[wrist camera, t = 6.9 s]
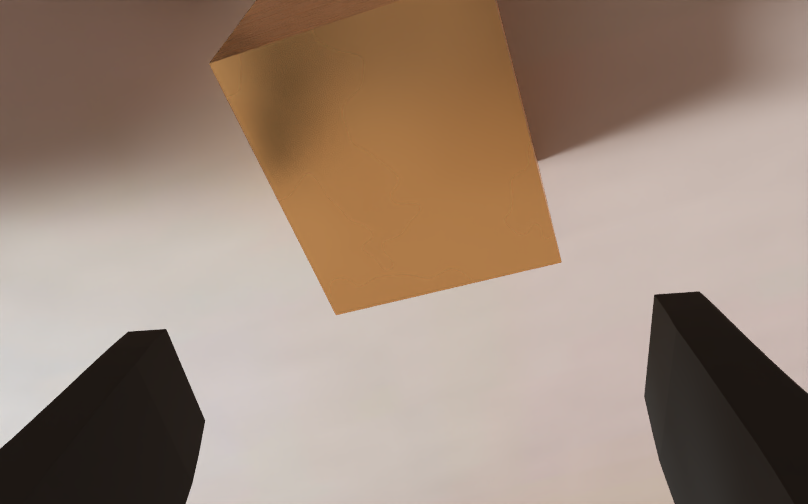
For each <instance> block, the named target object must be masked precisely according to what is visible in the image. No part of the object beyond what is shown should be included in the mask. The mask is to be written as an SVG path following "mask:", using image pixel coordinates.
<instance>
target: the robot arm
mask: <svg viewBox="0 0 808 504" xmlns="http://www.w3.org/2000/svg"><path fill="white" fill-rule="evenodd" d="M644 397H645V401H646V406H647V410H648V415H649V419H650V423H651V428H652V432H653V436H654V440H655V445H656V449H657V453H658V457H659V461H660V464H661V467H662V470H663V472H664V475H665V478H666V481H667V484H668V486H669V489H670V492H671V495H672V497H673V500H674V503H675V504H808V393H807V392H805V391H804V390H803V389H802V388H801V387H800V386H799V385H798V384H796V383H795V382H794V381H793V380H792V379H791V378H790V377H789V376H787V375H786V374H785V373H784V372H783V371H782V370H781V369H780V368H779V367H778V366H777V365H776V364H774V363H773V362H772V361H771V360H770V359H769V358H768V357H767V356H766V355H765V354H764V353H763V352H762V351H761V350H760V349H759V348H758V347H757V346H755V345H754V344H753V343H752V342H751V341H750V340H749V339H748V338H747V337H746V336H745V335H744V334H743V333H742V332H741V331H740V330H739V329H738V328H737V327H736V326H735V325H734V324H733V323H732V322H731V321H730V320H729V319H728V318H727V317H726V316H725V315H724V314H723V313H722V312H721V311H720V310H719V309H717V308H716V307H715V306H714V305H713V304H712V303H711V302H710V301H709V300H708V299H707V298H706V297H705V296H704V295H703V294H702V293H700V292H686V293H672V294H657V295H654V304H653V314H652V324H651V334H650V344H649V354H648V365H647V375H646V385H645V395H644ZM204 424H205V419H204V417H203V415H202V412H201V410H200V408H199V405H198V403H197V401H196V398H195V396H194V393H193V391H192V389H191V386H190V384H189V382H188V379H187V377H186V375H185V372H184V370H183V368H182V365H181V363H180V361H179V358H178V356H177V354H176V351H175V349H174V346H173V344H172V342H171V339H170V337H169V335H168V332H167V330H166V329H161V330H147V331H133V332H127V333H126V334H125V335H124V336H123V337H122V338H120V339H119V340H118V341H117V342H116V343H115V344H113V345H112V346H111V347H110V348H109V349H108V350H107V351H106V352H105V353H103V354H102V355H101V356H100V357H99V358H98V359H97V360H96V361H95V362H94V363H93V364H92V365H90V366H89V367H88V368H87V369H86V370H85V371H84V372H83V373H82V374H81V375H80V376H79V377H78V378H77V379H76V380H75V381H73V382H72V383H71V384H70V385H69V386H68V387H67V388H66V389H65V390H64V391H63V392H62V393H61V394H60V395H59V396H58V397H56V398H55V399H54V400H53V401H52V402H51V403H50V404H49V405H48V406H47V407H46V408H45V409H43V410H42V411H41V412H40V413H39V414H38V415H37V416H36V417H35V418H34V419H33V420H32V421H31V422H29V423H28V424H27V425H26V426H25V427H24V428H23V429H22V430H21V431H20V432H19V433H18V434H16V435H15V436H14V437H13V438H12V439H11V440H10V441H9V442H7V443H6V444H5V445H4V446H3V447H2V448H1V449H0V504H186V501H187V498H188V495H189V492H190V489H191V486H192V482H193V478H194V473H195V469H196V464H197V460H198V456H199V450H200V445H201V440H202V434H203V429H204Z"/></svg>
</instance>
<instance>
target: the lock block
mask: <svg viewBox="0 0 808 504" xmlns="http://www.w3.org/2000/svg"><path fill="white" fill-rule="evenodd" d="M209 64H210V66H211V68H212V70H213V72H214V74H215V76H216V78H217V80H218V82H219V84H220V86H221V88H222V90H223V92H224V94H225V96H226V98H227V100H228V102H229V104H230V106H231V108H232V110H233V112H234V114H235V116H236V118H237V120H238V122H239V124H240V126H241V128H242V130H243V132H244V134H245V136H246V138H247V140H248V142H249V144H250V146H251V148H252V150H253V152H254V154H255V156H256V158H257V160H258V162H259V164H260V166H261V167H262V169H263V171H264V173H265V175H266V177H267V179H268V181H269V183H270V185H271V187H272V189H273V191H274V193H275V195H276V197H277V199H278V201H279V203H280V205H281V207H282V209H283V211H284V213H285V215H286V217H287V219H288V221H289V223H290V225H291V227H292V229H293V231H294V233H295V235H296V237H297V239H298V241H299V243H300V245H301V247H302V249H303V251H304V253H305V255H306V257H307V259H308V261H309V263H310V265H311V267H312V269H313V271H314V272H315V274H316V276H317V278H318V280H319V282H320V284H321V286H322V288H323V290H324V292H325V294H326V296H327V298H328V300H329V302H330V304H331V306H332V308H333V310H334V312H335V314H336V315H339V314H343V313H347V312H352V311H356V310H360V309H364V308H369V307H373V306H377V305H381V304H386V303H390V302H394V301H399V300H403V299H407V298H411V297H416V296H420V295H424V294H428V293H433V292H437V291H441V290H446V289H450V288H454V287H458V286H463V285H467V284H471V283H475V282H480V281H484V280H488V279H493V278H497V277H501V276H505V275H510V274H514V273H518V272H522V271H527V270H531V269H535V268H540V267H544V266H548V265H552V264H557V263H561V258H560V254H559V249H558V245H557V241H556V237H555V233H554V229H553V224H552V220H551V216H550V212H549V208H548V204H547V199H546V195H545V191H544V187H543V183H542V178H541V174H540V170H539V166H538V162H537V158H536V154H535V150H534V146H533V142H532V138H531V134H530V130H529V126H528V122H527V118H526V114H525V110H524V106H523V103H522V99H521V95H520V91H519V87H518V83H517V79H516V75H515V71H514V67H513V63H512V59H511V55H510V51H509V47H508V43H507V39H506V35H505V31H504V27H503V23H502V20H501V16H500V12H499V8H498V4H497V0H256V1H255V3H254V4H253V5H252V7H251V8H250V9H249V11H248V12H247V13H246V15H245V16H244V17H243V19H242V20H241V21H240V23H239V24H238V26H237V27H236V28H235V30H234V31H233V32H232V34H231V35H230V36H229V38H228V39H227V40H226V42H225V43H224V44H223V46H222V47H221V48H220V50H219V51H218V52H217V54H216V55H215V56H214V58H213V59H212V60H211V62H210V63H209Z"/></svg>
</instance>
